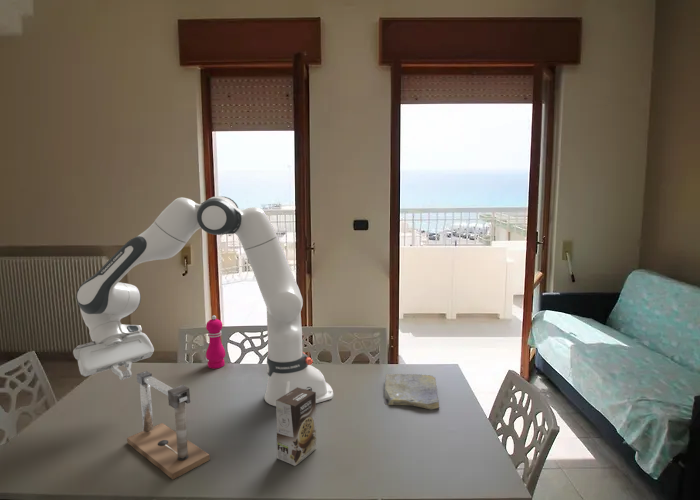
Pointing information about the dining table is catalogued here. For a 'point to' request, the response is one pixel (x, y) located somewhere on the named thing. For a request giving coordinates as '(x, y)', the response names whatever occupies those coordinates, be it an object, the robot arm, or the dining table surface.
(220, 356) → the pepper mill
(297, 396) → the coffee box
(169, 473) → the wood and metal stand
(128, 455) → the dining table surface
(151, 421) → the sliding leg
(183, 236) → the robot arm
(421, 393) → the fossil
